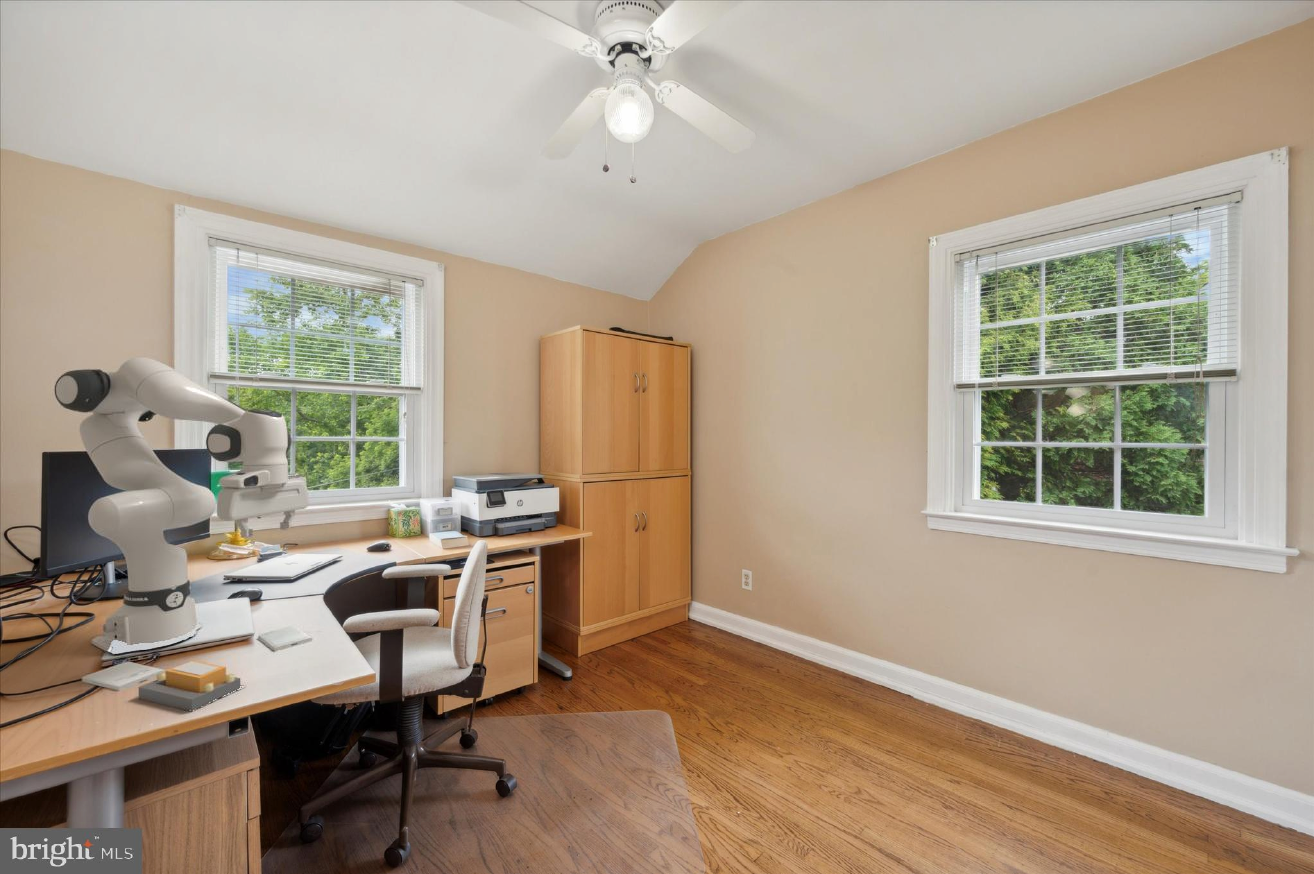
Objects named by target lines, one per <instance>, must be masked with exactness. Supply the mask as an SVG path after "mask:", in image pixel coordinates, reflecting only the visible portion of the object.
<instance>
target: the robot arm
mask: <svg viewBox="0 0 1314 874" xmlns="http://www.w3.org/2000/svg"><path fill="white" fill-rule="evenodd" d="M54 396H55V399H56V400H57V402H58V403H59V404H60V405H61V407H63V408H64V409H67V410H70V411H73V412H78V413H86V414H87V413H93V414H90V415H89V416H87V417H85V418H84V419H83V420H82V421H81V423H80V424H79V427H78V428H79V429H78V430H79V434H80V435H79V436H80V438H81V441H82V444H83V447H84V449H85V450H86V453H87V455H88V456H89V458H90V460H91V462H92V463H93V465H94V466H95V468H96V469H97V472H99V475H100V476H101V477H102V479H103V481H104V482H106V484H107V485H109V486H110V487H112V488H115V489H118V490H122V491H121V492H116V493H113V494H110V495H106V496H104V497H100V498H98V499H96V500H95V501H94V502H93V504H92V505H91V507H90V508H89V510H88V515H87V518H88V524H89V526H90V528H91V529H92V530H93V531H94V532H95V533H96V534H97V535H99V536H101V537H104V538H106V539H108V540H110V541H111V542H112V543H114V544H115V545H116V546H117V547H118V548H119V549H120V550H121V552H122V554H123V556H124V558H125V562H126V568H127V578H128V579H127V580H128V581H127V583H128V588H126V589H124V590H122V592H125V593H122V595H123V602H122V603H123V604H122V605H121V606H119V608H117V609H116V610H115V611H114V612H113V613H112V614H110V615H108V617H107V618H105V619H106V620H105V622H104V623H103V625H102V631H103V634H100V635H98V636H96V637H94V638H92V639H91V644H92V645H94V646H96V647H97V648H99V649H101V650H103V651H105V652H106V650H108V649H109V647H110V645H111V642H112V641H113V640H118V641H122V642H125V643H127V645H133V644H139V643H154V642H159V641H165V640H170V639H172V638H178V637H179V636H183V635H185V634H187V633H188V632H191V631H192V630H193V629H195V627H196V625H197V623H198V619H197V618H198V617H197V610H196V609H197V608H196V604H195V603H196V601H195V599H194V598H192V597H190V595H191V589H192V587H191V583H190V580H189V579H188V578H189V577H188V554H187V551H185V550H184V549H183V548H182V547H180V546H178V545H174V544H171V543H168V542H167V541H166V539H165V536H164V531H168V530H174V529H179V528H184V527H186V528H187V527H190V526H193V525H195V524H198V523H201V522H203V521H207V520H208V519H210V518H211V517H212V516H213V514H214V513H215V511H216V515H217V518H219V519H220V521H224V522H225V521H226V522H233V521H235V525H236V526H237V527H238V529H239V530H240V537H241V538H244V539H246V538H251V537H253V535H254V534H253V532H254V531H253V528H249V527H248V525H247V524H248V522H249V519H250V518H251V519H252V518H258V517H262V516H268V515H275V514H281V513H283V516H284V518H283V521H282V522H279V529H280V530H281V531H282V530H283V531H286V530H290V529H291V525H292V523H291V522H292V521H293V519H294V517H295V515H296V511H300V510H304V509H307V508H308V507H309V506H310V505H309V504H310V499H309V492H308V486H307V477H306V476H305V475H303V474H301V473H289V461H288V459H287V453H288V452H289V451H290V449H291V446H292V437H291V434H290V432H289V430H288V428H287V423H286V419H285V416H284V414H282V413H280V412H279V411H276V410H271V409H265V408H264V409H262V408H252V409H246V408H245V407H242V406H240V405H239V404H237V403H236V402H233V401H231V400H229V399H227V398H225V397H223V396H221V395H218V394H217V393H215V392H213V391H211V390H209V389H207V388H205V387H203V386H202V385H200V384H199V383H196V382H195V381H193V380H192V379H189V378H188V377H187V376H185V375H183V374H182V373H181V372H179V371H177V370H176V369H174V368H173V367H171V366H170V365H167V364H165V363H163V362H160V361H159V360H156V359H154V358H151V357H147V356H146V357H144V356H143V357H142V356H138V357H133V358H130V359H128V360H126V361H125V362H123V363H122V364H121V366H120V367H119V369H118V370H116V371H109V370H108V371H107V370H102V369H97V368H95V369H93V368H92V369H91V368H90V369H89V368H87V369H76V370H75V369H74V370H68V371H66V372H64V373H63V374H62V375H60V377H59V378H57V380H56V381H55V385H54ZM156 415H158V416H160V417H163V418H165V419H170V420H179V421H181V420H182V421H195V422H204V423H205V422H206V423H212V424H216V425H214V426H213V427H211V429H210V430H209V432H208V433H207V434H206V440H205V446H206V450H207V452H208V454H209V455H210V457H212V458H213V459H214V460H216V461H217V462H224V463H237V462H238V463H239V462H242V469H240V470H238V471H235V472H233V473H231V474H228V475H225V476H222V477H221V478H220V479H219V486H220V487H221V488H222V489H220V490H219V492H218V495H217V498H216V497H215V495H214V493H213V492H212V491H211V490H210V489H209V488H208V487H206V486H205V485H204V486H203V485H199V484H196V483H194V482H191V481H189V480H187V479H185V478H183V477H182V476H179V474H176V473H175V472H174V471H172V470H171V469H169V468H168V467H167V466H166V465H165V464H164V463H163V462H162V461H161V460H160V459H159V458H158V456H157V454H156V453H155V452H154V450H153V449H152V447H151V446H150V444H149V442H147V439H145V437H144V435H143V434H142V433H141V431H140V429H139V427H138V422H140V423H141V422H142V423H145V422H148V421H151V420H152V419H153V418H154V417H155V416H156ZM216 499H217V500H216Z"/></svg>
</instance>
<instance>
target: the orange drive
mask: <svg viewBox="0 0 1314 874" xmlns="http://www.w3.org/2000/svg"><path fill="white" fill-rule="evenodd" d="M165 672H166V686H168V687H173V688H177V689H181V690H186V691H190V692H195V693H200V692H202V691H204V685H205V684H207V683H213V687H214V686H216V685H218V684H221V683H223V682H225V681H226V675H227V667H226V666H222V665H217V664H213V663H207V662H204V661H203V662H202V661H198V660H191V661H187V662H185V663H181V664H179V665H176V666H174V667H171V668H169V669H167V670H165Z"/></svg>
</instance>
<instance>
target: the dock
mask: <svg viewBox="0 0 1314 874" xmlns="http://www.w3.org/2000/svg"><path fill="white" fill-rule="evenodd" d="M240 686H245V685H244V684H241V678H240V677H235V673H227V674H226V681H225V682H223V683H221V684H218V685H216V686H214V687H213V683H207V684H205V685H204V691H202V692H200V693H195V692H190V691H186V690H181V689H177V688H173V687H168V686H166V671H165V672H163V673H159V674H157V677H156V680H153V681H151V682H150V681H149V682H148V683H145V684H143V685H140V686H138V699H139V700H142V701H147V702H151V703H155V704H159V705H163V704H164V705H163V706H169V707H172V708H175V709H179V708H181V709H180V710H183V709H186V710H185V711H187V710H191V711H190V712H192V711H193V710H195V709H197V708H199V709H201V708H202V707H201V706H204V705H206V704H208V703H209V702H212V701H213V700H215V699H219V698H220V697H223V696H224V695H227V694H228V693H231V692H233V691H235V690H237V689H239V688H240ZM241 688H242V687H241ZM227 696H228V695H227ZM223 698H224V697H223ZM219 700H220V699H219ZM212 703H213V702H212ZM208 705H209V704H208ZM206 706H207V705H206ZM200 707H201V708H200ZM204 707H205V706H204ZM197 710H198V709H197ZM195 711H196V710H195ZM193 712H194V711H193Z"/></svg>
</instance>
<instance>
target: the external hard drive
mask: <svg viewBox="0 0 1314 874" xmlns="http://www.w3.org/2000/svg"><path fill="white" fill-rule="evenodd" d="M163 672H166V670H165V669H163V668H162V669H161V668H157V667H155V666H154V667H153V666H150V665H145V664H140V663H136V662H133V661H124V662H121V663H119V664H115V665H113V666H110V667H108V668H104V669H101V670H98V671H95V672H92V673H90V674H87V675H84V676H83V677H81V682H83V683H86V684H91V685H95V686H98V687H102V688H106V689H110V690H113V691H117V692H120V691H123V690H125V689H128V688H131V687H134V686H136V685H138V684H141V683H143V682H146V681H149V680H152V679H154V678H157V674H159V673H163Z"/></svg>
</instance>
